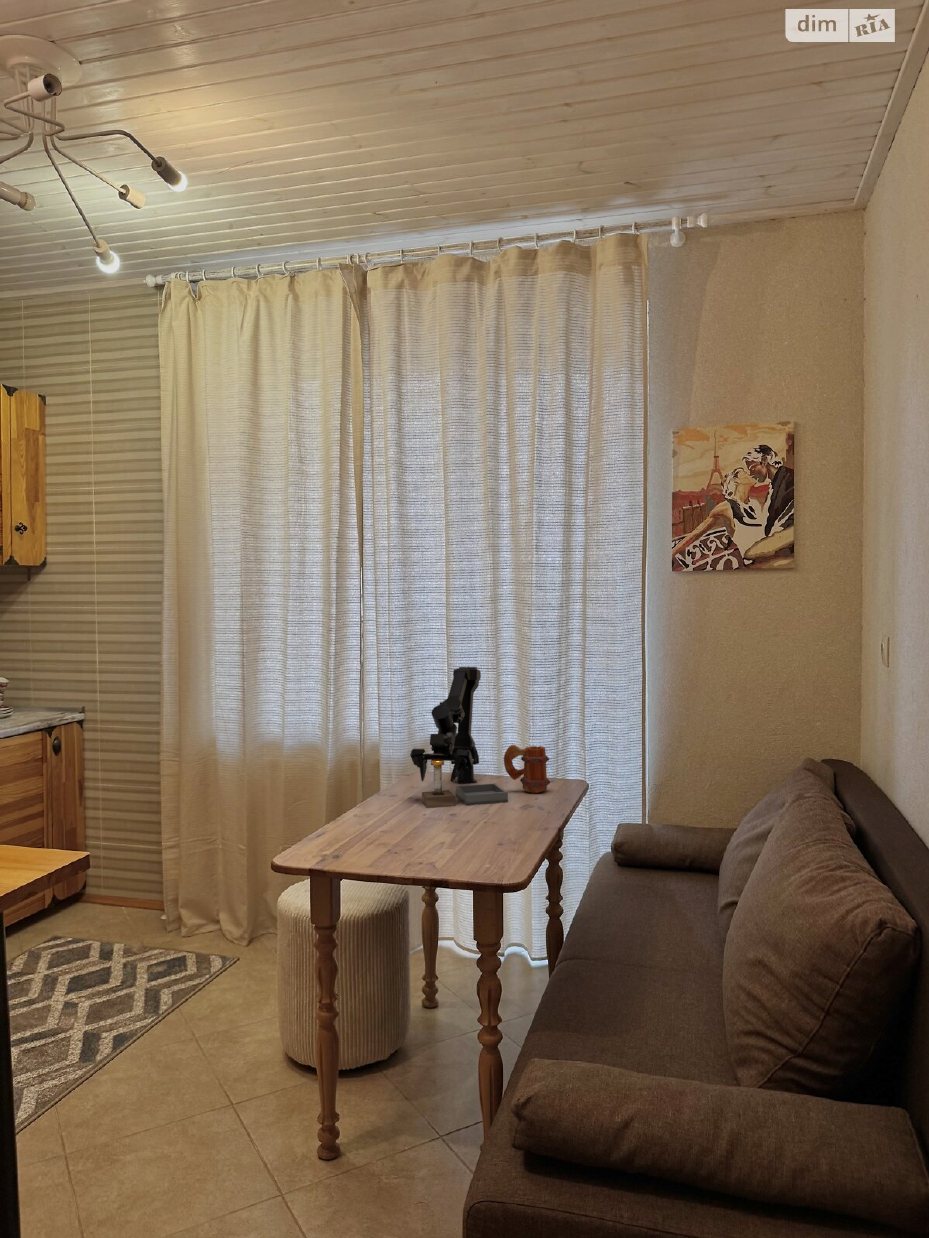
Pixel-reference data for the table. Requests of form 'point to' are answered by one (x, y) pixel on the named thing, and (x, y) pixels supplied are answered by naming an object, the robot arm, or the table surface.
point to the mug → (528, 767)
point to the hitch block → (438, 799)
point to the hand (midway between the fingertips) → (436, 780)
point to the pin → (437, 775)
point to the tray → (481, 794)
